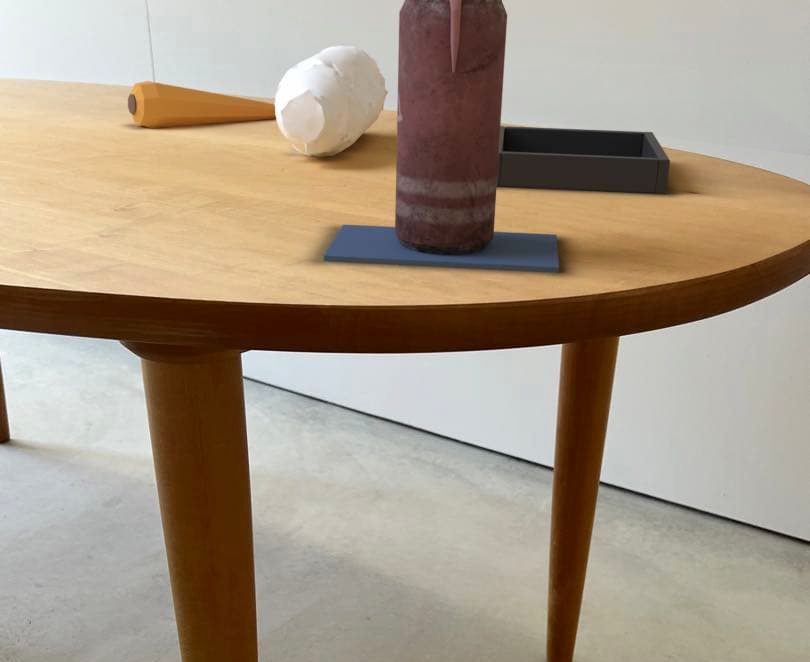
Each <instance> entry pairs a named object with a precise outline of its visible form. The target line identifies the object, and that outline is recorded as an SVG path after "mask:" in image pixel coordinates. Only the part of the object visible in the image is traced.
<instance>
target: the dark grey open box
mask: <svg viewBox="0 0 810 662" xmlns="http://www.w3.org/2000/svg"><path fill="white" fill-rule="evenodd" d="M670 164H671V160H670V158H669V157H668V154H667V153H666V152H665V150H664V148H663V147H662V146H661V144H660V142H659V140H658V139H657V138H656V135H655V134H654V132H652V131H635V130H610V129H609V130H608V129H607V130H606V129H584V128H583V129H582V128H580V129H579V128H557V127H536V126H534V127H533V126H509V125H506V126H504V125H500V140H499V156H498V172H497V188H508V189H530V190H553V191H555V190H556V191H575V192H577V191H578V192H600V193H621V194H622V193H623V194H644V195H645V194H646V195H665V196H666V193H667V186H668V179H669V172H670Z"/></svg>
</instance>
